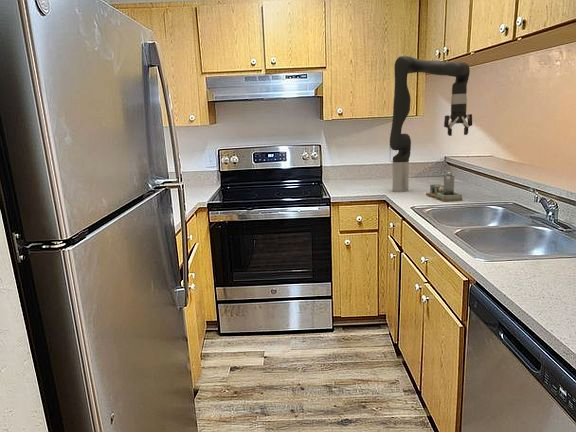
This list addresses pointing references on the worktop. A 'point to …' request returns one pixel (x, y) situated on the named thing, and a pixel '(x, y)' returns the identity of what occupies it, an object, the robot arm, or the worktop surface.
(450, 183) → the grey bottle
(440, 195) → the hub seat
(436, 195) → the base board
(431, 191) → the shaft and pillow blocks
